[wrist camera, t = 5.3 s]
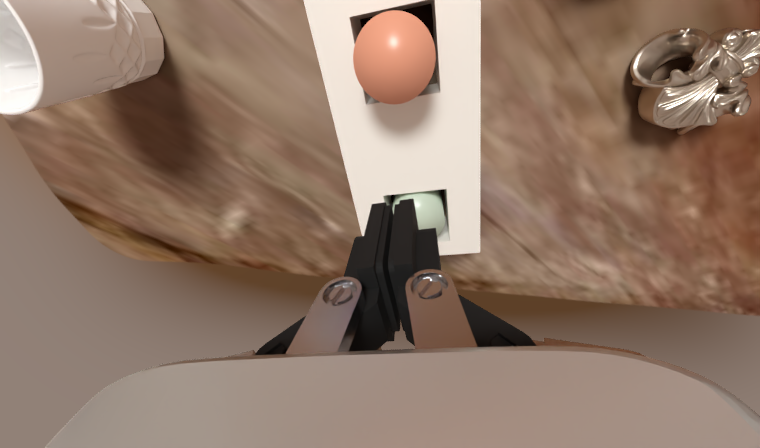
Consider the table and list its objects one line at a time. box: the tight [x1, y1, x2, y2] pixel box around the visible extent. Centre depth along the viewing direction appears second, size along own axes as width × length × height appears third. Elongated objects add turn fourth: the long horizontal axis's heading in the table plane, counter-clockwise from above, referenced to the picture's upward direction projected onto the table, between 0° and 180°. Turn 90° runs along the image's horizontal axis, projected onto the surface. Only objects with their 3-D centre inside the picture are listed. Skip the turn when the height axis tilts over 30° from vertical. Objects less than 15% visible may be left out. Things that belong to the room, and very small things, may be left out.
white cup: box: [0, 0, 164, 115], centre depth 19 cm, size 8×8×10 cm
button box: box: [304, 0, 481, 255], centre depth 23 cm, size 10×20×4 cm, turn 10°
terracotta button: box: [353, 10, 436, 104], centre depth 18 cm, size 4×4×4 cm
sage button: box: [392, 190, 445, 236], centre depth 26 cm, size 4×4×4 cm
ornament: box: [630, 28, 760, 135], centre depth 20 cm, size 8×7×4 cm
